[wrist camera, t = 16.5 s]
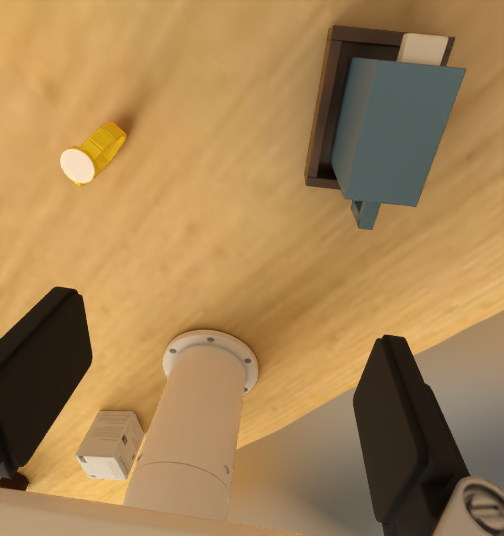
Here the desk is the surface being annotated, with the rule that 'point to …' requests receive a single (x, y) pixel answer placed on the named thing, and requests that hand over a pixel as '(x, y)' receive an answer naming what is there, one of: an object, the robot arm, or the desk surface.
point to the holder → (331, 85)
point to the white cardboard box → (110, 445)
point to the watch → (92, 154)
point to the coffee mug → (14, 482)
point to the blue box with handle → (392, 125)
